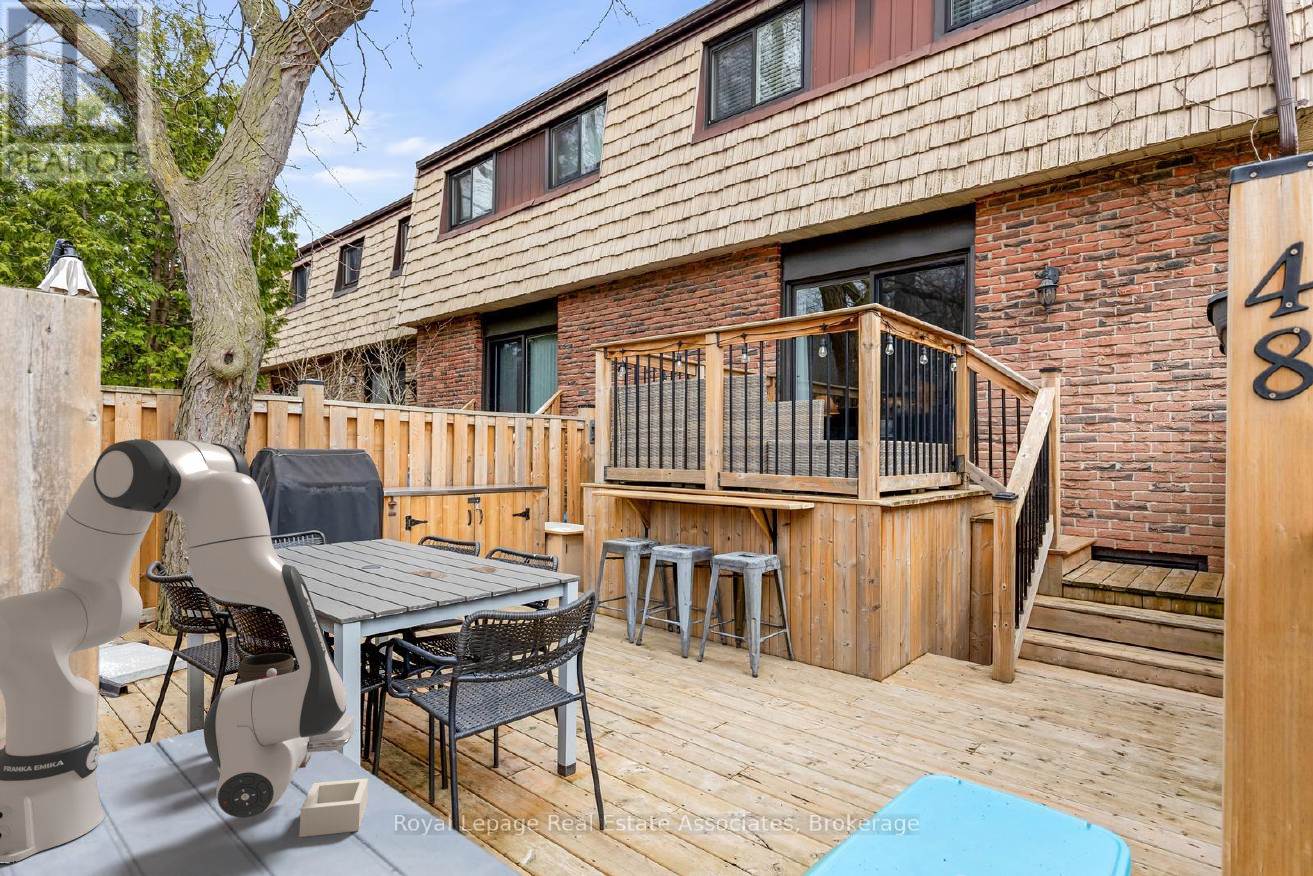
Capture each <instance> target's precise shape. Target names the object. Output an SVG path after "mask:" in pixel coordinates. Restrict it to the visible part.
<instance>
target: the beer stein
mask: <svg viewBox="0 0 1313 876" xmlns="http://www.w3.org/2000/svg"><path fill="white" fill-rule="evenodd" d="M238 666H239V668H238V669H237V673H238V675H239V677H240V684H241V683H245V682H250V681H254V680H258V679H262V678H265V677H267V675H266V673H267V671H268V670H269V669H271V668H274V669H276V671H277V674H276V676H279V675H283V674H287V673H292V672H293V670H294V666H295V662H294V656H293V655H292V654H290V653H286V652H285V653H284V652H273V653H271V652H270V653H262V654H258V655H257V654H256V655H253V656H250V657H246V658H244V659H241V661H240V662H239V665H238Z"/></svg>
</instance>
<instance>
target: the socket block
mask: <svg viewBox="0 0 1313 876" xmlns="http://www.w3.org/2000/svg"><path fill="white" fill-rule="evenodd" d="M368 794H369V778H368V777H366V778H357V779H344V780H335V781H324V782H323V781H322V782H314V783H312V785H311V788H310V789H309V791H308V793H307V795H306V797H305V800H304V801H303V803H302V806H301V808H300V814H299V816H300V818H299V838H303V837H314V836H321V835H322V836H323V835H331V834H333V835H334V834H341V833H350V832H358V831H357V830H359V831H360V829H361V825H362V822H363V818H364V816H363V815H365V813H366V810H367V809H366V808H367V806H368V796H369V795H368Z"/></svg>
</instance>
